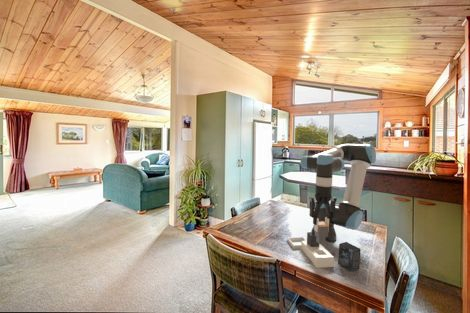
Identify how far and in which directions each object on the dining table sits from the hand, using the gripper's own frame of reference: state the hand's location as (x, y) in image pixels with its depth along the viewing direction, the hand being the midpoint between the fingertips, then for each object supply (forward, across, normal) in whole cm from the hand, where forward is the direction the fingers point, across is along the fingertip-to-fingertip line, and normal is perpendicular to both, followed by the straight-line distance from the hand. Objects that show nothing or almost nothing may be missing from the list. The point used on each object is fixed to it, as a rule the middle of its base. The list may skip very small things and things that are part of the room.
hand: (321, 230), depth 110 cm
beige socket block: (+16, -4, -4) cm, 18 cm away
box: (+17, -13, +5) cm, 22 cm away
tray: (+17, +4, -18) cm, 25 cm away
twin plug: (+17, 0, -9) cm, 19 cm away
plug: (+6, 0, 0) cm, 6 cm away
